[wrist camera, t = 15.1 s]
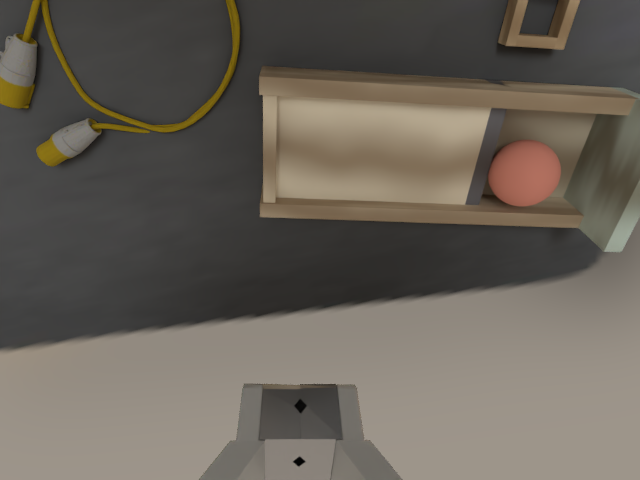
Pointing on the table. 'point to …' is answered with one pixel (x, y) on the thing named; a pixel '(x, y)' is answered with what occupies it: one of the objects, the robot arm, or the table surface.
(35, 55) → the extension cord
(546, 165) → the ball
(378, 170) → the tray
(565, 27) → the hollow square frame
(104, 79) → the table surface
